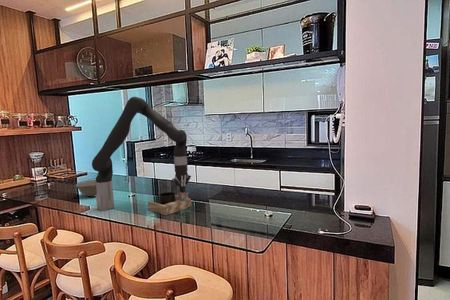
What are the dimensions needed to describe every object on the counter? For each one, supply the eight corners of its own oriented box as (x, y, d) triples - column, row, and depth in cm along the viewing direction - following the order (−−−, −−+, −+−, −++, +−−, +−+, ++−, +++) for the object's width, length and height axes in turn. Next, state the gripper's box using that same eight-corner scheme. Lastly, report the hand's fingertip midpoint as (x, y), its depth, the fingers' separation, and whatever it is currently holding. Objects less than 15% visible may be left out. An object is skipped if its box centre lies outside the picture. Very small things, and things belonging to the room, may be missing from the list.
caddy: (165, 215, 162) (164, 199, 161) (148, 209, 174) (147, 195, 173) (191, 206, 176) (190, 192, 175) (174, 202, 188) (173, 188, 187)
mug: (181, 205, 179) (180, 191, 178) (170, 211, 168) (169, 196, 167) (168, 204, 183) (167, 190, 182) (157, 210, 172) (155, 195, 171)
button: (182, 199, 172) (182, 193, 171) (179, 199, 174) (179, 192, 173) (186, 198, 174) (185, 192, 173) (183, 198, 176) (182, 191, 175)
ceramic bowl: (69, 199, 208) (68, 185, 207) (91, 191, 230) (90, 179, 229) (96, 200, 202) (95, 186, 201) (116, 191, 225) (115, 179, 224)
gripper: (185, 161, 179) (187, 189, 181) (167, 164, 169) (169, 194, 171) (193, 162, 174) (195, 190, 176) (175, 165, 164) (177, 195, 166)
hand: (182, 192), depth 173 cm, fingers closed
